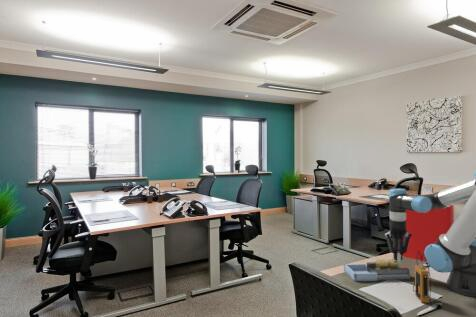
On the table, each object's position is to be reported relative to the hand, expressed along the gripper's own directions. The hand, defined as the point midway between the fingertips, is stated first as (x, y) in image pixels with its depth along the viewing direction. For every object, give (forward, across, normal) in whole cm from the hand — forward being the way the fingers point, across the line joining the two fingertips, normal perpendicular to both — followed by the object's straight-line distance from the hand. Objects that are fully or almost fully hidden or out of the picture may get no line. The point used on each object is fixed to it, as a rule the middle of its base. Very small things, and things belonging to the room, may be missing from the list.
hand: (397, 266), depth 154 cm
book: (+4, -27, -21) cm, 35 cm away
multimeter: (+4, +1, +27) cm, 28 cm away
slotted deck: (+4, +6, 0) cm, 7 cm away
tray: (+4, +20, 0) cm, 20 cm away
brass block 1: (+2, +8, 0) cm, 9 cm away
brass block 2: (+2, +3, 0) cm, 3 cm away
